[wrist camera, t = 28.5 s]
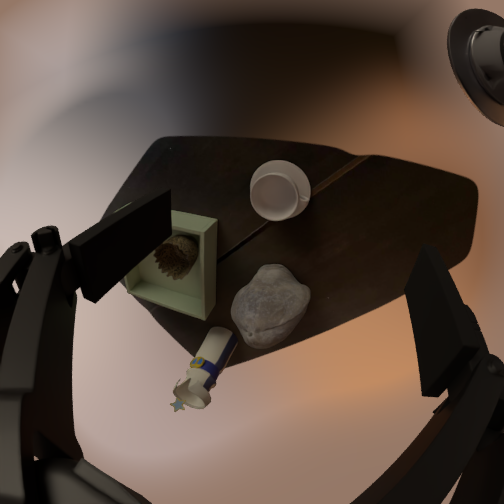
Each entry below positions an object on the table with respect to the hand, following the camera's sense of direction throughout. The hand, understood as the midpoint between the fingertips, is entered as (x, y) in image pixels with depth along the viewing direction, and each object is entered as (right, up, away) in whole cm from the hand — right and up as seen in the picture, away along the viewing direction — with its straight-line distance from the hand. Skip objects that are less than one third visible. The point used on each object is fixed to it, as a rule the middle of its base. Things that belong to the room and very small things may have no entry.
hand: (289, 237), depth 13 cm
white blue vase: (-9, -22, +54) cm, 59 cm away
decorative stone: (+3, -7, +41) cm, 42 cm away
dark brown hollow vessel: (-14, +1, +41) cm, 44 cm away
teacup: (+3, +10, +32) cm, 33 cm away
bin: (-19, -1, +45) cm, 49 cm away
